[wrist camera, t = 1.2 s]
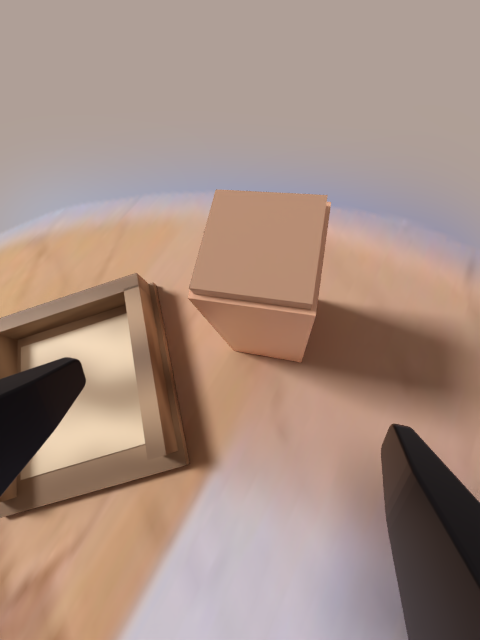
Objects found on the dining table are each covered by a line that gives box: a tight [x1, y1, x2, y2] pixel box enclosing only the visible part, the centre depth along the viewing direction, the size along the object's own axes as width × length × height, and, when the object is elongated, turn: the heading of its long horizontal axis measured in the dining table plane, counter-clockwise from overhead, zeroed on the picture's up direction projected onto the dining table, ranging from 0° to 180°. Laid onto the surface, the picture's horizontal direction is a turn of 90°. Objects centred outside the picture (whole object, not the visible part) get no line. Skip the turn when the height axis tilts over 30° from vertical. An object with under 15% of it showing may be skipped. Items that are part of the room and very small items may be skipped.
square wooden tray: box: [0, 273, 189, 518], centre depth 21 cm, size 14×14×3 cm
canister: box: [188, 190, 331, 362], centre depth 16 cm, size 5×5×11 cm
